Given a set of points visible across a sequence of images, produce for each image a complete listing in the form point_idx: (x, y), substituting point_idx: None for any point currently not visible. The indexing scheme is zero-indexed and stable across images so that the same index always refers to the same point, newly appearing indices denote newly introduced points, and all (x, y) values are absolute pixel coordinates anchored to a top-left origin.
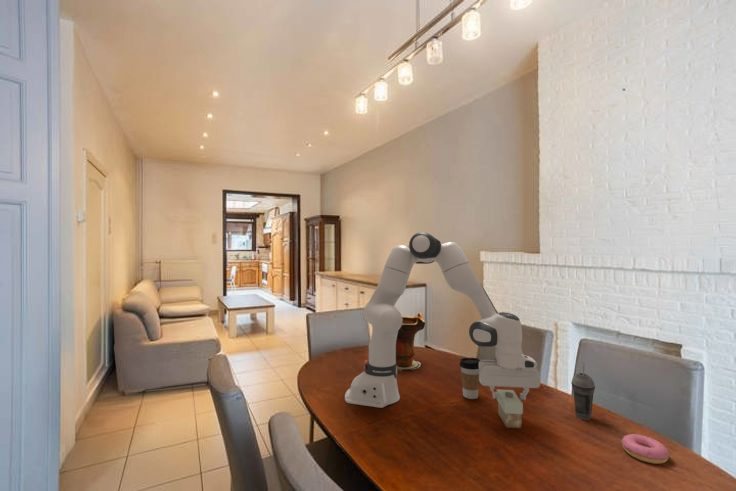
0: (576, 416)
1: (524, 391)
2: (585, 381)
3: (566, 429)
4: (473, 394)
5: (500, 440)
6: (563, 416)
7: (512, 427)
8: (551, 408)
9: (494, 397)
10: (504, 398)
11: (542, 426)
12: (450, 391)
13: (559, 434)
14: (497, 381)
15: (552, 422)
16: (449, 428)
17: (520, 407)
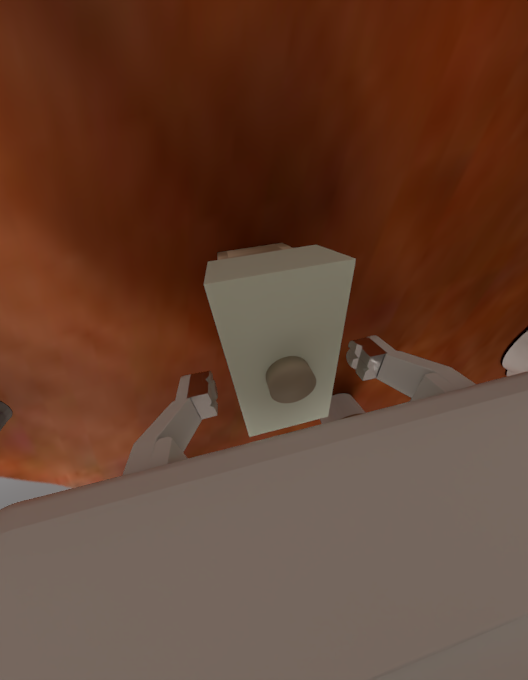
0: (5, 405)
1: (183, 431)
2: None
3: (4, 296)
4: (340, 405)
5: (347, 60)
6: (57, 392)
7: (255, 247)
8: (112, 421)
9: (374, 338)
10: (328, 333)
11: (124, 294)
12: (373, 407)
13: (19, 231)
14: (511, 444)
15: (88, 339)
16: (513, 172)
17: (223, 269)
